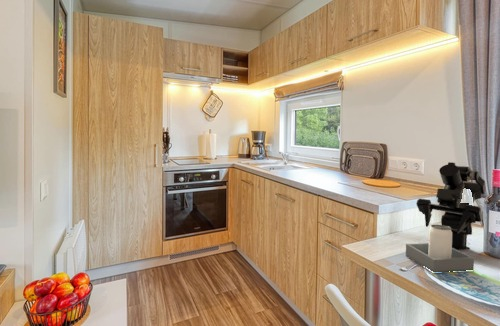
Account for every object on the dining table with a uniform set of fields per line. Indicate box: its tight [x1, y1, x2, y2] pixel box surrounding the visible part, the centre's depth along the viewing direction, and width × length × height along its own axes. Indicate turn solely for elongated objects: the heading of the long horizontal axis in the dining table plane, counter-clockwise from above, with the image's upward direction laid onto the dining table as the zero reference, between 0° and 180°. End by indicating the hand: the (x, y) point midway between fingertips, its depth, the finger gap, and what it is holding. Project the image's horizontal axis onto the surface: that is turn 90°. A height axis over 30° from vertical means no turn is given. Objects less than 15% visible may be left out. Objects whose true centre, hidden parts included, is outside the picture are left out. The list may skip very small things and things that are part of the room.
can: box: [428, 224, 452, 259], centre depth 94 cm, size 6×6×12 cm
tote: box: [405, 242, 475, 272], centre depth 94 cm, size 14×14×4 cm
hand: (441, 229), depth 96 cm, fingers open, 9 cm apart
